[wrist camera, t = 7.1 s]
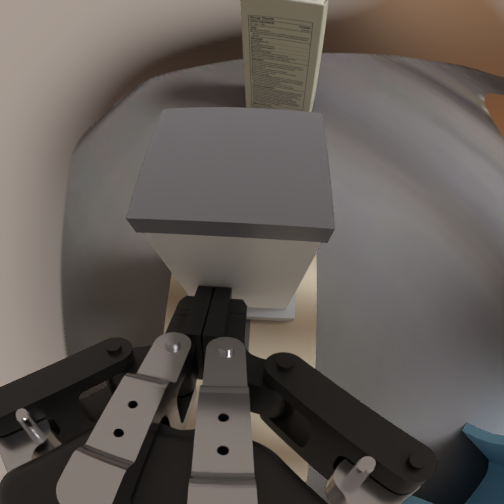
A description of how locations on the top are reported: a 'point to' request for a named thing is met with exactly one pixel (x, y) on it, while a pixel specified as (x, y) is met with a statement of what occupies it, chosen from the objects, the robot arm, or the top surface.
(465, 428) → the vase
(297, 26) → the skincare box
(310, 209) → the fader knob
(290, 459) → the fader track
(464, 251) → the top surface
